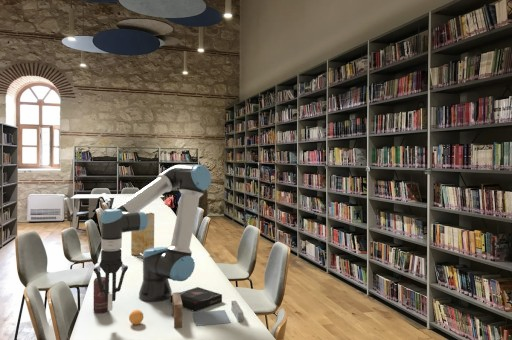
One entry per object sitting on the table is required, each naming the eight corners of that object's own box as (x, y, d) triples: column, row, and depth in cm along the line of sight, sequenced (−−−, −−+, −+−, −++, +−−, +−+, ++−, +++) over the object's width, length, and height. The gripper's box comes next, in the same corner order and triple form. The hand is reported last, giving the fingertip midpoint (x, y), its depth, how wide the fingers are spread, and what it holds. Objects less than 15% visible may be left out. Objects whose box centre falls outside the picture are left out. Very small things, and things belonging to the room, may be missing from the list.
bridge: (174, 328, 162) (174, 304, 161) (172, 314, 176) (172, 292, 175) (182, 327, 162) (182, 304, 162) (179, 313, 176) (179, 292, 176)
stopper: (231, 309, 182) (231, 300, 182) (235, 309, 182) (236, 300, 182) (238, 322, 168) (238, 312, 168) (242, 321, 169) (243, 312, 169)
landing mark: (192, 312, 178) (192, 312, 178) (224, 310, 181) (224, 309, 181) (196, 325, 164) (196, 325, 164) (230, 322, 168) (230, 322, 168)
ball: (129, 321, 167) (129, 308, 167) (143, 320, 168) (143, 307, 168) (128, 327, 162) (128, 313, 161) (143, 326, 163) (143, 312, 163)
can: (110, 307, 182) (110, 276, 181) (105, 313, 176) (106, 280, 175) (96, 307, 182) (96, 276, 181) (91, 313, 175) (91, 280, 175)
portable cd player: (196, 294, 203) (196, 286, 203) (221, 303, 192) (222, 294, 192) (170, 303, 190) (170, 295, 190) (195, 313, 179) (195, 303, 179)
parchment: (155, 259, 267) (156, 213, 266) (146, 261, 263) (147, 214, 262) (138, 253, 285) (138, 209, 284) (130, 254, 280) (130, 210, 279)
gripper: (92, 251, 156) (91, 313, 157) (128, 250, 160) (127, 311, 160) (94, 247, 164) (93, 307, 164) (129, 246, 167) (128, 305, 167)
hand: (110, 309), depth 162 cm, fingers closed
